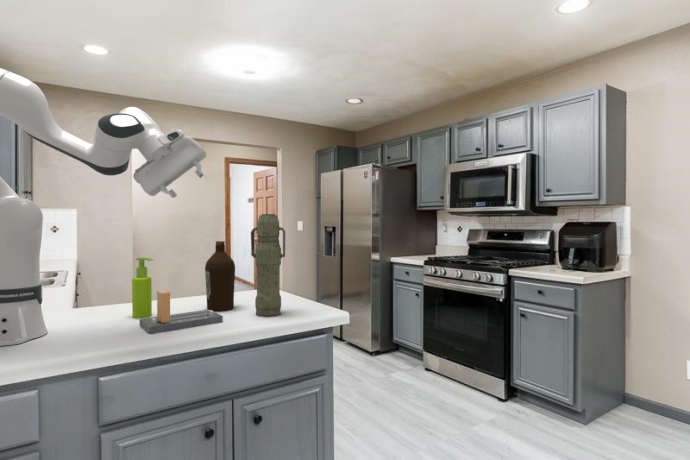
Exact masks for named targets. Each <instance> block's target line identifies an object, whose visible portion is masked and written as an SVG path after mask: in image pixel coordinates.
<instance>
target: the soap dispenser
mask: <svg viewBox="0 0 690 460" xmlns="http://www.w3.org/2000/svg"><path fill="white" fill-rule="evenodd" d="M135 260H136V261H138V267H135V271H136V272H135V274H136V275H135V277H132V278H131V288H132V289H131V290H132V291H131V294H132V295H131V296H132V298H131V300H132V301H131V302H132V304H131V305H132V307H131V308H132V318H134V319H143V318H150V317H153V311H152V306H153V305H152V302H153V301H152V299H153V298H152V297H153V296H152V293H153V292H152V277H151V276H148V267H147V266H145V261H153V260H154V258H152V257H136V259H135Z"/></svg>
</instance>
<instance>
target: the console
mask: <svg viewBox="0 0 690 460" xmlns="http://www.w3.org/2000/svg"><path fill="white" fill-rule="evenodd" d="M223 317H224V316H223V315H222V314H219V313H218V312H215V311H212V310H209V309H208V310H207V309H202V310H195V311H187V312H182V313H181V312H180V313H173V314H170V322H165V323H161V322H160V321H158V320H157V316H150V317H146V318H138V319H139V320H138V321H139V322H138V323H139V326H140V327H141V328H142V329H143V330H145V331H146V333H148V334H149V335H151V334H157V333H163V332H170V331H175V330H176V331H177V330H182V329H183V330H184V329H187V328H188V329H189V328H193V327H194V328H195V327H201V325H202V326H207V324H208V325H212V324H213V323H214V324H218V323H223V322H224V319H223ZM214 324H213V325H214Z"/></svg>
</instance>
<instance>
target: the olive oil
mask: <svg viewBox="0 0 690 460" xmlns="http://www.w3.org/2000/svg"><path fill="white" fill-rule="evenodd" d="M214 246H215V251H214V253H213V254H212V255H211V256H210V257H209V258H208V259H207V261H206V263H205V267H204V275H205V288H206V289H205V290H206V293H205V294H206V310H208V309H209V310H212V311H214V312H215V313H219V312H227V311H231V310H233V309H234V307H235V305H234V304H235V283H236V282H235V279H236V265H235V261H234V259H233V258H232V257H231V256H230V255H229V254H228V253H227V252H226V245H225V241H224V240H217V241H215V245H214Z"/></svg>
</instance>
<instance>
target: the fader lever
mask: <svg viewBox="0 0 690 460" xmlns="http://www.w3.org/2000/svg"><path fill="white" fill-rule="evenodd" d="M170 315H171V292H169V291H168V290H157V291H156V317H157V320H158V321H160V322H161V323H165V322H170Z"/></svg>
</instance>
